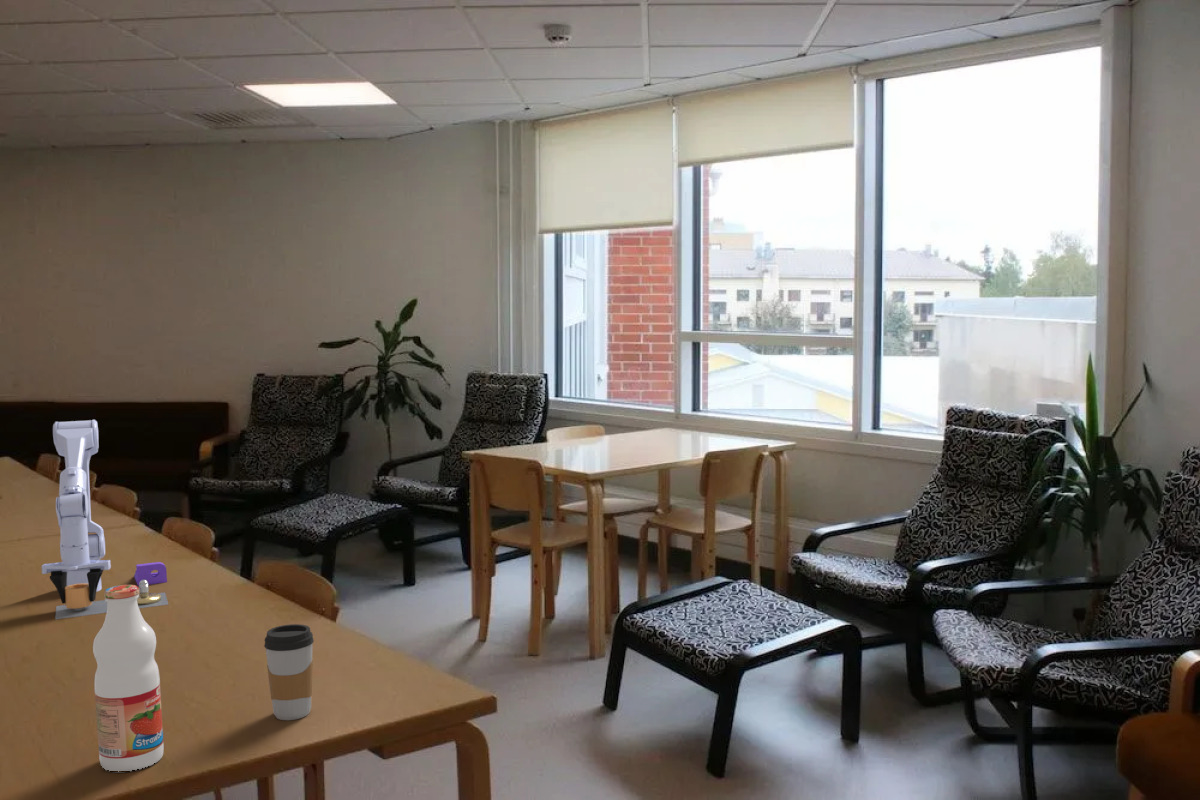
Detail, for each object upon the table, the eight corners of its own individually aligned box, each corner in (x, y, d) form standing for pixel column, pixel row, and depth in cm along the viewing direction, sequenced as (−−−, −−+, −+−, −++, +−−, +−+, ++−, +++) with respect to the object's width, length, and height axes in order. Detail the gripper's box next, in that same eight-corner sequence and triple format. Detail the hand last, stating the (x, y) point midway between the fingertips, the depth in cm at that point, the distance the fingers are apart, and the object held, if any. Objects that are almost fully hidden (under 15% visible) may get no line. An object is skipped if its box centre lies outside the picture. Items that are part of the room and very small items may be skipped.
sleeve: (60, 607, 249) (59, 588, 249) (79, 601, 254) (77, 582, 254) (79, 609, 247) (77, 590, 247) (97, 602, 252) (95, 584, 252)
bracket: (167, 589, 275) (165, 562, 274) (138, 592, 271) (136, 566, 271) (162, 578, 285) (160, 553, 284) (134, 582, 282) (132, 556, 281)
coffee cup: (273, 706, 192) (269, 624, 190) (320, 703, 193) (317, 622, 191) (262, 724, 184) (258, 639, 182) (312, 721, 184) (308, 636, 183)
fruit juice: (113, 749, 174) (102, 581, 172) (172, 747, 175) (162, 579, 172) (89, 775, 165) (77, 597, 162) (152, 772, 165) (140, 595, 163)
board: (55, 625, 243) (54, 604, 243) (56, 612, 254) (55, 591, 254) (168, 610, 254) (167, 589, 253) (165, 598, 264) (164, 578, 264)
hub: (121, 604, 255) (120, 582, 254) (143, 595, 261) (142, 575, 261) (145, 606, 252) (144, 584, 252) (167, 598, 259) (166, 577, 259)
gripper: (35, 550, 244) (39, 608, 245) (103, 546, 247) (107, 603, 248) (45, 543, 251) (49, 599, 252) (111, 539, 254) (115, 595, 255)
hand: (78, 601), depth 251 cm, fingers closed on sleeve, 5 cm apart
